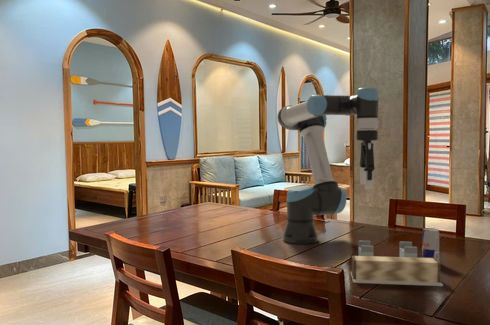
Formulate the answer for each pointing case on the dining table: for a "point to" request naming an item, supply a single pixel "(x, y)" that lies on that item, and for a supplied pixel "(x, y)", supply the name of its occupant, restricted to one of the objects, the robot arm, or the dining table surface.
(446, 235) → the dining table surface
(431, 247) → the energy drink
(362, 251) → the post left
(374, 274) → the rail
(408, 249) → the post right
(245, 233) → the dining table surface
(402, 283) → the mat
